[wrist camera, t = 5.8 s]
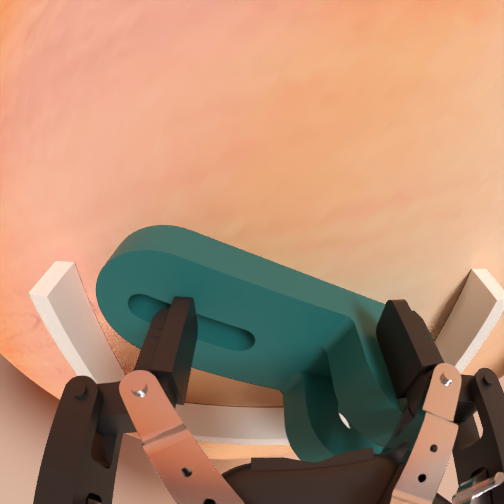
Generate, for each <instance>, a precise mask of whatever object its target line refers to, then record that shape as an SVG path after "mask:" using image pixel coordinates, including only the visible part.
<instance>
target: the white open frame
mask: <svg viewBox="0 0 504 504" xmlns="http://www.w3.org/2000/svg"><path fill="white" fill-rule="evenodd" d="M29 295H30V297H31V299H32V301H33V303H34V305H35V307H36V309H37V311H38V313H39V315H40V317H41V318H42V320H43V322H44V324H45V326H46V327H47V329H48V331H49V332H50V334H51V336H52V337H53V339H54V341H55V342H56V344H57V346H58V347H59V349H60V350H61V352H62V353H63V355H64V356H65V358H66V359H67V361H68V362H69V364H70V365H71V367H72V368H73V370H74V371H75V372H76V374H77V375H78V376H82V375H83V376H88V377H90V378H92V379H93V380H94V381H95V382H96V384H100V383H111V382H118V381H121V380H122V379H123V377H124V376H125V374H124V372H123V370H122V368H121V366H120V365H119V363H118V361H117V359H116V357H115V355H114V353H113V351H112V349H111V347H110V345H109V343H108V341H107V339H106V337H105V335H104V333H103V331H102V329H101V327H100V325H99V323H98V320H97V318H96V316H95V314H94V311H93V309H92V307H91V304H90V302H89V299H88V297H87V295H86V292H85V290H84V287H83V284H82V282H81V279H80V276H79V274H78V271H77V268H76V265H75V262H64V261H56V262H55V263H54V264H53V265H52V266H51V267H50V268H49V269H48V271H47V272H46V273H45V274H44V275H43V276H42V278H41V279H40V280H39V281H38V282H37V284H36V285H35V286H34V287H33V288H32V290H31V291H30V292H29ZM503 311H504V290H503V288H502V287H501V286H500V285H499V284H498V282H497V281H496V280H495V279H494V278H493V277H492V275H491V274H490V273H489V272H488V271H487V270H486V269H472V270H471V272H470V274H469V277H468V279H467V281H466V283H465V285H464V288H463V290H462V292H461V294H460V296H459V298H458V300H457V302H456V304H455V306H454V308H453V310H452V311H451V313H450V315H449V317H448V319H447V321H446V322H445V324H444V326H443V328H442V330H441V331H440V333H439V335H438V336H437V338H436V340H435V341H434V342H435V344H436V346H437V348H438V350H439V352H440V354H441V356H442V358H443V360H444V362H445V363H448V364H451V365H453V366H454V367H455V368H456V369H457V370H458V371H459V373H461V372H462V371H463V370H464V368H465V367H466V366H467V365H468V363H469V362H470V361H471V359H472V358H473V357H474V355H475V354H476V353H477V351H478V350H479V348H480V347H481V346H482V344H483V343H484V341H485V340H486V338H487V337H488V335H489V334H490V332H491V331H492V329H493V328H494V326H495V324H496V323H497V321H498V319H499V318H500V316H501V314H502V313H503ZM175 411H176V413H177V414H178V416H179V418H180V419H181V421H182V422H183V424H184V425H185V426H186V427H187V428H188V430H189V431H190V433H191V434H192V436H193V437H194V439H195V440H196V441H200V442H211V443H223V444H242V445H286V444H290V443H289V441H288V438H287V435H286V431H285V423H284V407H276V408H259V407H229V406H213V405H201V404H191V403H185V404H184V405H178V404H176V408H175ZM339 415H340V418H341V419H342V421H343V423H344V424H345V425H346V426H347V427H348V428H349V429H350V427H349V424H348V422H347V420H346V419H345V418H344V417H343V416H342V415H341V414H340V413H339Z"/></svg>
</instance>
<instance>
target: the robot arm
mask: <svg viewBox="0 0 504 504" xmlns="http://www.w3.org/2000/svg"><path fill="white" fill-rule="evenodd" d="M430 335H431V334H430V332H429V331H428V329H427V327H426V325H425V323H424V321H423V319H422V318H421V317H420V316H419V315H418V314H417V313H416V312H415V311H411V309H410V307H409V305H408V303H407V302H406V301H405V300H388V301H387V302H386V304H385V307H384V309H383V312H382V314H381V317H380V319H379V321H378V324H377V327H376V338H377V341H378V344H379V346H380V349H381V352H382V355H383V358H384V361H385V364H386V367H387V370H388V373H389V376H390V379H391V382H392V385H393V388H394V391H395V394H396V398H397V399H402V398H407V401H408V402H407V403H406V405H405V407H404V409H403V412H402V414H401V416H400V419H399V421H398V423H397V426H396V428H395V430H394V432H393V434H392V437H391V438H390V440H389V442H388V443H387V445H386V446H385V447H384V448H383V450H382V451H381V453H380V454H374V452H373V447H372V448H366V449H361V450H355V451H349V452H344V453H342V454H339V455H336V456H334V457H331V458H328V459H325V460H323V461H320V462H307V461H300V460H294V459H288V458H251V463H249V464H244V465H241V466H237V467H235V468H232V469H230V470H228V471H226V472H225V473H223V474H222V475H221V474H220V473H219V472H218V470H217V469H216V468H215V467H214V465H213V464H212V462H211V461H210V460H209V458H208V457H207V456H206V454H205V453H204V451H203V450H202V449H201V447H200V446H199V444H198V443H197V442H196V440H195V439H194V437H193V436H192V434H191V433H190V431H189V430H188V428H187V427H186V426H185V425H184V424H183V422H182V421H181V419H180V418H179V416H178V414H177V413H176V411H175V408H176V404H178V405H184V404H185V398H186V393H187V387H188V382H189V377H190V372H191V367H192V362H193V357H194V352H195V347H196V342H197V336H198V323H197V316H196V310H195V303H194V298H193V297H178V296H175V297H174V298H173V301H172V304H171V307H170V309H165V308H161V309H160V310H159V311H158V312H157V314H156V315H155V316H154V317H153V319H152V322H151V324H150V328H149V330H148V332H147V335H146V338H145V340H144V343H143V346H142V349H141V351H140V354H139V357H138V360H137V363H136V366H135V368H134V370H133V371H132V372H130V373H128V374H127V375H125V376H124V377H123V379H122V380H121V381H118V382H111V383H100V384H96V382H95V381H94V380H93V379H92V378H90V377H88V376H83V375H82V376H76V377H74V378H72V379H71V380H70V381H69V382H68V383H67V384H66V386H65V388H64V391H63V394H62V397H61V399H60V402H59V405H58V408H57V411H56V414H55V417H54V420H53V423H52V427H51V430H50V433H49V437H48V440H47V444H46V447H45V451H44V455H43V459H42V463H41V467H40V472H39V476H38V481H37V485H36V491H35V496H34V502H33V504H112V497H113V489H114V483H115V476H116V470H117V462H118V457H119V452H120V446H121V441H122V436H123V433H131V432H138V434H139V436H140V438H141V440H142V442H143V444H142V445H143V448H144V450H145V452H146V454H147V456H148V458H149V460H150V462H151V463H152V465H153V467H154V468H155V470H156V472H157V473H158V475H159V477H160V479H161V480H162V482H163V483H164V485H165V487H166V488H167V489H168V491H169V493H170V494H171V496H172V497H173V499H174V500H175V502H176V503H177V504H452V503H453V504H504V393H503V390H502V387H501V385H500V383H499V380H498V378H497V376H496V374H495V373H494V372H493V371H492V370H490V369H488V368H481V369H479V370H478V372H477V373H476V374H475V375H474V376H471V375H462V374H460V373H459V371H458V370H457V369H456V368H455V367H454V366H453V365H451V364H448V363H444V361H443V359H442V357H441V355H440V353H439V350H438V348H437V346H436V344H435V342H434V340H433V338H432V337H431V336H430ZM476 411H478V414H479V417H480V420H481V424H482V427H483V435H482V437H481V438H480V437H479V433H478V430H477V426H476V423H475V420H474V416H473V414H474V413H475V412H476ZM451 452H452V453H453V457H454V462H455V467H456V472H457V478H458V484H459V488H458V490H457V493H456V494H454V495H453V497H452V503H450V502H449V501H448V500H446V499H445V498H444V497H442V496H441V495H439V494H438V493H437V490H438V488H439V485H440V483H441V481H442V478H443V475H444V473H445V470H446V467H447V464H448V461H449V458H450V455H451Z"/></svg>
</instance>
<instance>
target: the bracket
mask: <svg viewBox="0 0 504 504" xmlns="http://www.w3.org/2000/svg"><path fill="white" fill-rule="evenodd" d="M175 296H178V297H193V298H194V303H195V310H196V316H197V323H198V336H197V342H196V347H195V352H194V357H193V362H192V368H195V369H198V370H202V371H205V372H209V373H212V374H216V375H219V376H223V377H227V378H230V379H234V380H238V381H242V382H246V383H250V384H255V385H259V386H264V387H268V388H273V389H277V390H279V391H281V392H282V394H283V401H284V423H285V431H286V435H287V438H288V441H289V443H290V446H291V447H292V449H293V451H294V452H295V454H296V455H297V456H298V458H299V459H300V460H301V461H307V462H320V461H323V460H325V459H328V458H331V457H334V456H336V455H339V454H342V453H344V452H349V451H355V450H361V449H366V448H372V447H373V452H374V454H380V453H381V451H382V450H383V448H384V447H385V446H386V445H387V443H388V442H389V440H390V438H391V437H392V434H393V432H394V430H395V428H396V426H397V423H398V421H399V419H400V416H401V414H402V412H403V409H404V407H405V405H406V403H407V402H408V401H407V398H402V399H397V398H396V394H395V391H394V388H393V385H392V382H391V379H390V376H389V373H388V370H387V367H386V364H385V361H384V358H383V355H382V352H381V349H380V346H379V344H378V341H377V338H376V327H377V324H378V321H379V319H380V317H381V314H382V312H383V309H384V307H385V304H383V303H380V302H378V301H375V300H372V299H370V298H367V297H364V296H362V295H359V294H357V293H354V292H351V291H349V290H346V289H343V288H341V287H338V286H336V285H333V284H330V283H328V282H325V281H322V280H320V279H317V278H314V277H312V276H309V275H307V274H304V273H301V272H299V271H296V270H293V269H291V268H288V267H286V266H283V265H280V264H278V263H275V262H272V261H270V260H267V259H265V258H262V257H259V256H257V255H254V254H252V253H249V252H246V251H244V250H241V249H238V248H236V247H233V246H231V245H228V244H225V243H223V242H220V241H218V240H215V239H212V238H210V237H207V236H204V235H202V234H199V233H197V232H194V231H191V230H188V229H185V228H181V227H177V226H169V225H157V226H150V227H146V228H143V229H140V230H138V231H136V232H134V233H132V234H131V235H129V236H128V237H127V238H126V239H125V240H124V241H123V242H122V243H121V244H120V245H119V247H118V248H117V249H116V251H115V252H114V253H113V255H112V256H111V257H110V259H109V260H108V261H107V263H106V264H105V266H104V267H103V268H102V270H101V272H100V273H99V276H98V278H97V283H96V297H97V302H98V305H99V308H100V310H101V312H102V314H103V316H104V317H105V319H106V320H107V322H108V323H109V324H110V326H111V327H112V328H113V329H114V330H115V331H116V332H117V333H118V334H119V335H120V336H121V337H123V338H124V339H125V340H126V341H128V342H129V343H131V344H132V345H134V346H136V347H138V348H139V349H142V346H143V343H144V340H145V338H146V335H147V332H148V330H149V328H150V324H151V322H152V319H153V317H154V316H155V315H156V314H157V312H158V311H159V310H160V309H161V308H165V309H170V307H171V304H172V301H173V298H174V297H175ZM425 325H426V324H425ZM426 327H427V326H426ZM427 329H428V328H427ZM428 331H429V330H428ZM430 336H431V335H430ZM431 337H432V336H431ZM439 353H440V352H439ZM440 355H441V354H440ZM441 357H442V356H441ZM442 359H443V358H442ZM443 361H444V360H443ZM444 363H445V362H444ZM339 413H340V414H341V415H342V416H343V417H344V418H345V419H346V420H347V422H348V424H349V427H350V429H349V428H348V427H347V426H346V425H345V424H344V423H343V421H342V419H341V418H340V415H339Z"/></svg>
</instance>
